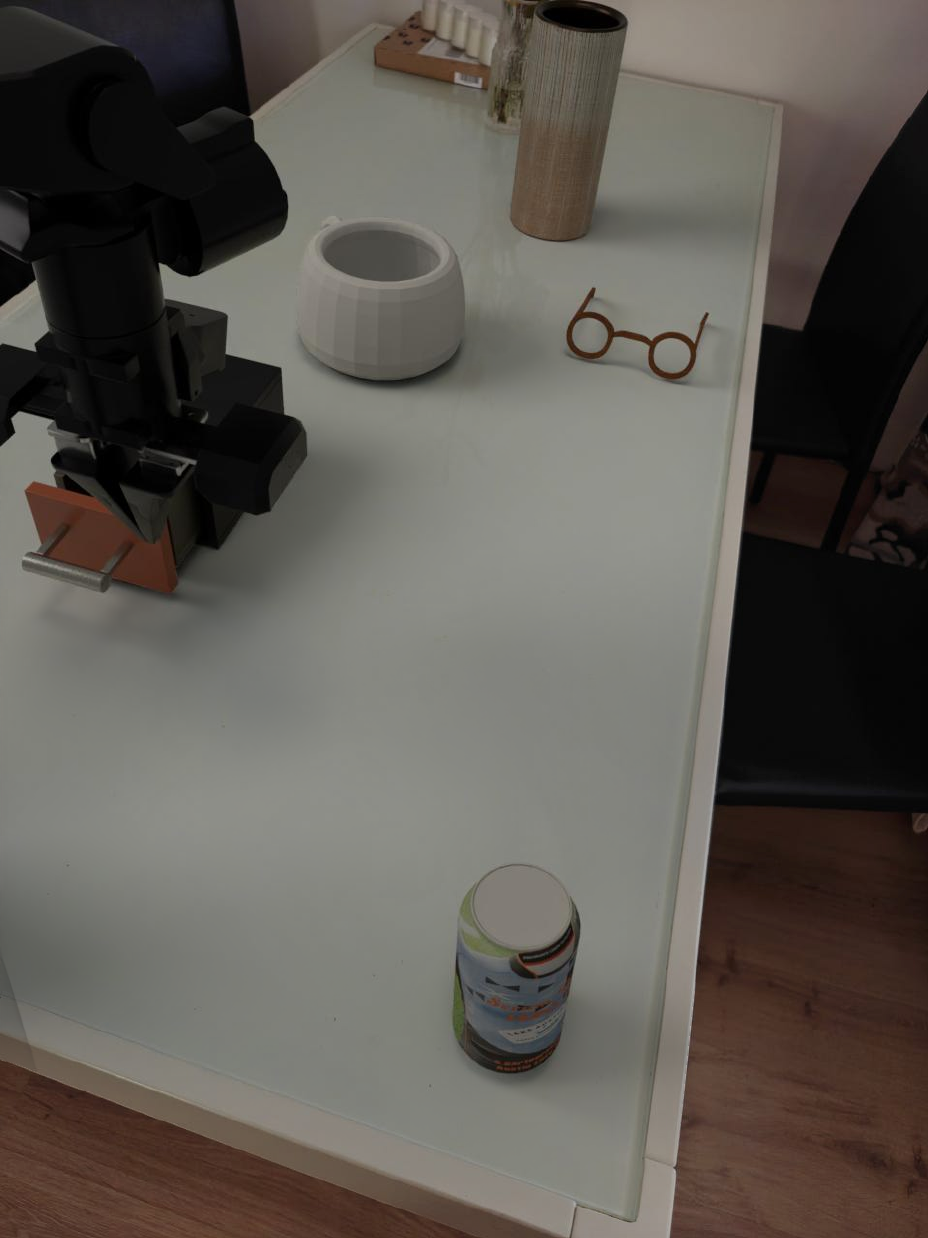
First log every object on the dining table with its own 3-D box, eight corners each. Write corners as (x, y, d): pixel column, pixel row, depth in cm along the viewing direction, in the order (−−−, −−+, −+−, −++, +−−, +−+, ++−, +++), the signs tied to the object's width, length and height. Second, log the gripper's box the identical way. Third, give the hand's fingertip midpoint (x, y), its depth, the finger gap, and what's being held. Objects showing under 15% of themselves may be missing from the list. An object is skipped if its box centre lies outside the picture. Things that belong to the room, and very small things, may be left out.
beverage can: (481, 1103, 52) (507, 1017, 44) (422, 979, 57) (435, 878, 48) (582, 1051, 55) (626, 960, 46) (518, 935, 59) (547, 831, 50)
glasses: (561, 355, 102) (569, 311, 98) (590, 295, 110) (598, 253, 106) (687, 387, 100) (700, 343, 96) (706, 323, 108) (719, 281, 104)
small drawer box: (218, 550, 79) (206, 464, 72) (85, 513, 80) (63, 427, 74) (287, 450, 88) (281, 367, 81) (166, 419, 89) (152, 335, 83)
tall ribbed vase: (585, 206, 125) (621, 2, 108) (595, 244, 118) (635, 33, 102) (507, 200, 124) (531, -6, 108) (511, 238, 118) (538, 25, 101)
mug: (493, 366, 99) (504, 273, 92) (342, 407, 93) (341, 311, 85) (392, 266, 111) (395, 176, 104) (252, 296, 104) (244, 203, 97)
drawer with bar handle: (139, 639, 71) (123, 572, 66) (9, 601, 72) (-17, 532, 67) (243, 492, 82) (236, 425, 77) (129, 462, 83) (114, 394, 78)
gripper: (342, 273, 53) (344, 495, 65) (29, 201, 56) (85, 427, 67) (254, 384, 46) (274, 613, 57) (-102, 295, 48) (-14, 532, 60)
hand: (152, 538), depth 61 cm, fingers closed
